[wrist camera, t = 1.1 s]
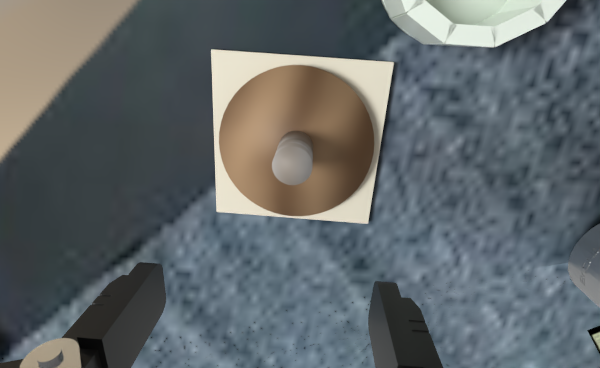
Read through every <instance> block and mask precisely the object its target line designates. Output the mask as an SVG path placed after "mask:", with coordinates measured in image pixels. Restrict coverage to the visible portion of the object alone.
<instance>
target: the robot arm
mask: <svg viewBox="0 0 600 368" xmlns="http://www.w3.org/2000/svg"><path fill="white" fill-rule="evenodd" d="M568 271H569V275H570V278H571V279H572V281H573V283H574V284H575V285H576V286H577V287H578V288H579V289H580V290H581V291H583V292H584V293H585V294H586V295H587V296H588V297H589V298H590V299H591V300H592V301H593V302H594V303H595V304H596V305H597V306H599V307H600V224H598V225H596V226H595V227H593V228H592V229H590V230H589V231H588V232H587V233H586V234H584V235H583V236H582V238H581V239H580V240H579V241H578V242H577V243H576V245H575V247H574V248H573V250H572V252H571V254H570V258H569V261H568ZM165 303H166V293H165V284H164V276H163V268H162V265H161V264H155V263H142V262H140V263H138V264H137V265H136V266H135V267H134V269H133V270H132V271H131V272H130V273H129V275H122V276H120V277H119V278H117V279H116V280H114V281H112V282H111V283H109V284H108V285H107V287H106V288H105V289H104V290H103V291H102V292H101V294H100V296H98V297H97V298H96V299H95V300H94V302H93V303H92V305H90V306H89V307H88V308H87V310H86V311H85V312H84V313H83V314H82V315H81V316H80V318H79V319H78V320H77V321H76V322H75V323H74V324H73V326H72V327H71V328H70V329H69V330H68V331H67V332H66V334H65V335H64V336H63V337H62V338H59V339H54V340H51V341H48V342H46V343H44V344H42V345H40V346H38V347H36V348H35V349H34V350H32V351H31V352H30V353H29V354H28V355H27V356H26V357H25V358H24V359H21V360H16V361H10V362H4V363H0V368H131V366H132V365H133V363H134V361H135V360H136V358H137V356H138V354H139V353H140V351H141V349H142V347H143V346H144V344H145V342H146V341H147V339H148V337H149V335H150V334H151V332H152V330H153V328H154V327H155V325H156V323H157V322H158V320H159V318H160V316H161V315H162V313H163V310H164V307H165ZM368 325H369V334H370V340H371V345H372V351H373V356H374V362H375V367H376V368H443V366H442V364H441V361H440V359H439V356H438V353H437V351H436V348H435V346H434V343H433V341H432V338H431V335H430V334H429V330H428V328H427V325H426V323H425V320H424V317H423V315H422V312H421V310H420V308H419V307H418V306H417V305H416V304H415V303H414V302H413V300H412V299H411V298H401V295H400V292H399V289H398V286H397V284H396V283H392V282H379V281H375V283H374V287H373V293H372V298H371V304H370V310H369V318H368Z"/></svg>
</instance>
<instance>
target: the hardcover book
mask: <svg viewBox="0 0 600 368" xmlns="http://www.w3.org/2000/svg"><path fill="white" fill-rule="evenodd" d="M587 331H588V332H589V334H590V336H591V338H592V340H593V342H594V344H595V346H596V348H597V350H598V352H599V354H600V326H598V327H595V328H592V329H590V330H587Z"/></svg>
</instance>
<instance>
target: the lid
mask: <svg viewBox="0 0 600 368" xmlns="http://www.w3.org/2000/svg"><path fill="white" fill-rule="evenodd" d="M219 148H220V154H221V159H222V162H223V165H224V168H225V170H226V172H227V174H228V176H229V178H230V179H231V181H232V182H233V184H234V185H235V186H236V188H237V189H238V190H239V191H240V192H241V193H242V194H243V195H244V196H245V197H246V198H248V199H249V200H250V201H252V202H253V203H254V204H256V205H258V206H260V207H262V208H263V209H266V210H268V211H271V212H273V213H277V214H281V215H287V216H310V215H315V214H319V213H322V212H325V211H328V210H330V209H332V208H334V207H336V206H338V205H339V204H341V203H342V202H344V201H345V200H346V199H348V198H349V197H350V196H351V195H352V194H353V193H354V192H355V191H356V190H357V189H358V188H359V186H360V185H361V183H362V182H363V181H364V179H365V177H366V175H367V173H368V171H369V168H370V165H371V162H372V158H373V154H374V131H373V126H372V122H371V119H370V116H369V113H368V111H367V109H366V107H365V105H364V104H363V102H362V101H361V99H360V98H359V96H358V95H357V94H356V93H355V92H354V90H353V89H352V88H351V87H350V86H349V85H348V84H346V83H345V82H344V81H343V80H342V79H340V78H338V77H337V76H335V75H334V74H332V73H330V72H327V71H325V70H323V69H319V68H316V67H312V66H306V65H287V66H280V67H276V68H273V69H270V70H267V71H265V72H263V73H260V74H259V75H257V76H255V77H254V78H252V79H250V80H249V81H248V82H247V83H245V84H244V85H243V86H242V87H241V88H240V89H239V90H238V91H237V92H236V93H235V95H234V96H233V97H232V99H231V100H230V102H229V103H228V106H227V108H226V110H225V112H224V114H223V118H222V121H221V125H220V131H219Z"/></svg>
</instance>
